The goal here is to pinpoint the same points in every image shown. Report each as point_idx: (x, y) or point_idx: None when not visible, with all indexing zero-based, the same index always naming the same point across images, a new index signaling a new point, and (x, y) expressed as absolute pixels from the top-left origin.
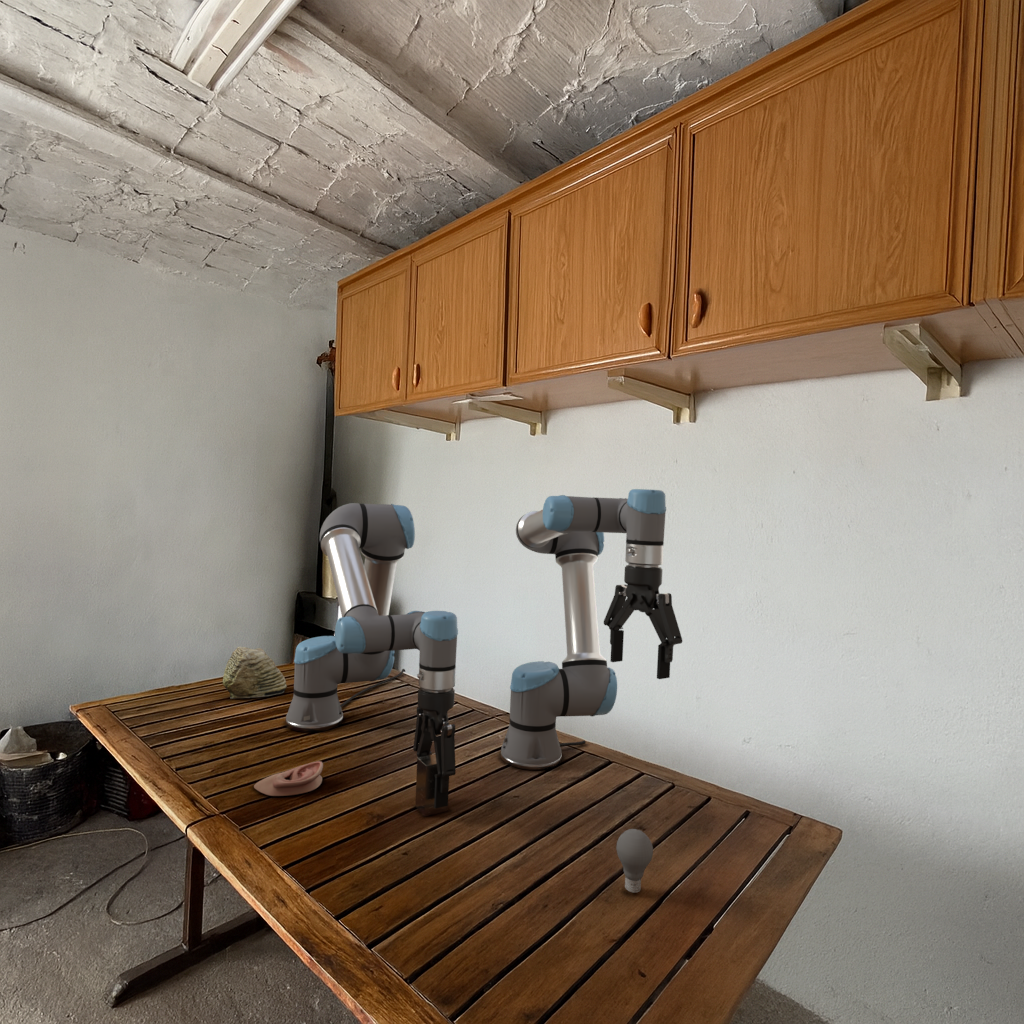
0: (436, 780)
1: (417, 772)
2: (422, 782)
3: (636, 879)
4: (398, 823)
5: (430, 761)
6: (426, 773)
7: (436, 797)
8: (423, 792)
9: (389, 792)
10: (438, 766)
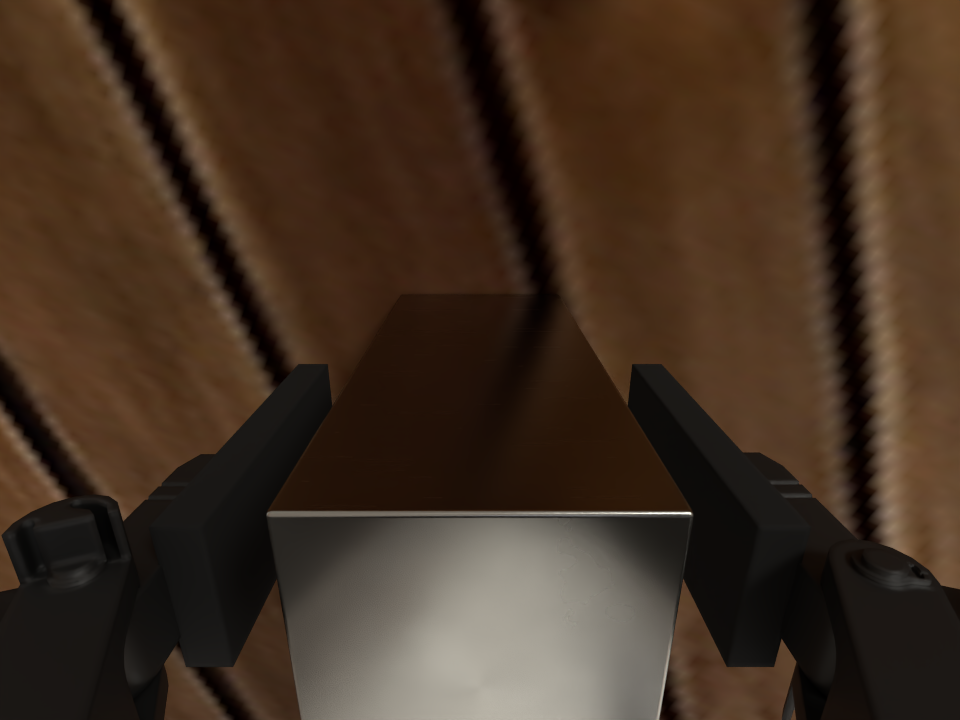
0: (193, 489)
1: (592, 397)
2: (434, 373)
3: None
4: (388, 83)
5: (413, 626)
6: (307, 446)
7: (267, 403)
8: (411, 343)
9: (865, 210)
10: (30, 659)
